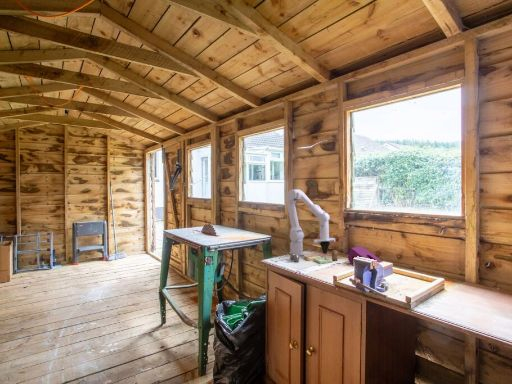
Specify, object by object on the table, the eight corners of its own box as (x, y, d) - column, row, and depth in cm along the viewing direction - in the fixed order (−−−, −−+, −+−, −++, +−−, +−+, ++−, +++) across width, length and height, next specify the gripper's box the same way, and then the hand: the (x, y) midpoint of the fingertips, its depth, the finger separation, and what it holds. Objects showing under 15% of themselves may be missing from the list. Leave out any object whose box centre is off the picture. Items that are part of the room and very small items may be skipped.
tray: (314, 260, 180) (313, 258, 180) (325, 259, 183) (325, 257, 183) (320, 264, 173) (320, 261, 173) (332, 262, 175) (332, 260, 175)
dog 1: (289, 259, 185) (289, 253, 185) (294, 259, 186) (294, 252, 186) (291, 260, 182) (291, 254, 182) (296, 260, 183) (295, 253, 183)
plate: (303, 259, 188) (303, 255, 188) (314, 257, 190) (314, 254, 190) (309, 261, 180) (309, 258, 180) (320, 260, 182) (320, 256, 182)
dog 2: (292, 261, 180) (292, 254, 180) (297, 261, 181) (297, 254, 181) (294, 262, 177) (294, 256, 177) (299, 262, 178) (299, 255, 178)
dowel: (331, 260, 181) (330, 250, 181) (335, 259, 182) (335, 250, 182) (333, 261, 178) (333, 251, 178) (338, 260, 179) (338, 251, 179)
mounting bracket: (380, 276, 165) (356, 257, 179) (386, 264, 162) (361, 245, 176) (370, 279, 160) (346, 259, 174) (376, 267, 157) (351, 247, 171)
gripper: (317, 233, 181) (317, 255, 182) (337, 232, 185) (338, 253, 186) (311, 232, 188) (312, 253, 188) (331, 230, 192) (332, 251, 192)
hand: (324, 253), depth 187 cm, fingers closed
